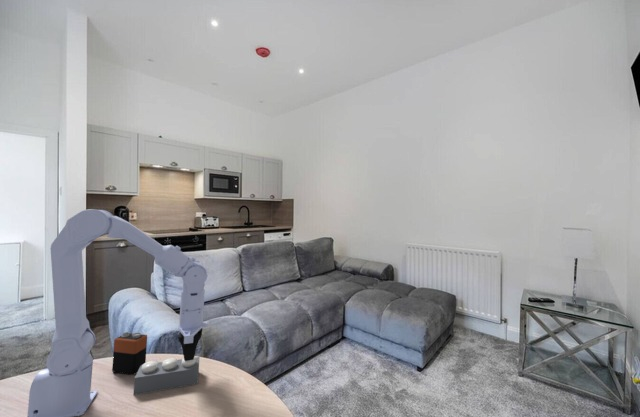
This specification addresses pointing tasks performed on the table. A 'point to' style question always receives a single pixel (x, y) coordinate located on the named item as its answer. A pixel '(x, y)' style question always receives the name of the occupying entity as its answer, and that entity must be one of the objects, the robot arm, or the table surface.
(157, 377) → the mount
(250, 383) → the table surface
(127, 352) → the battery
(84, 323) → the robot arm
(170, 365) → the knob middle
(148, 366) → the knob near
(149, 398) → the table surface
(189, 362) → the knob far
